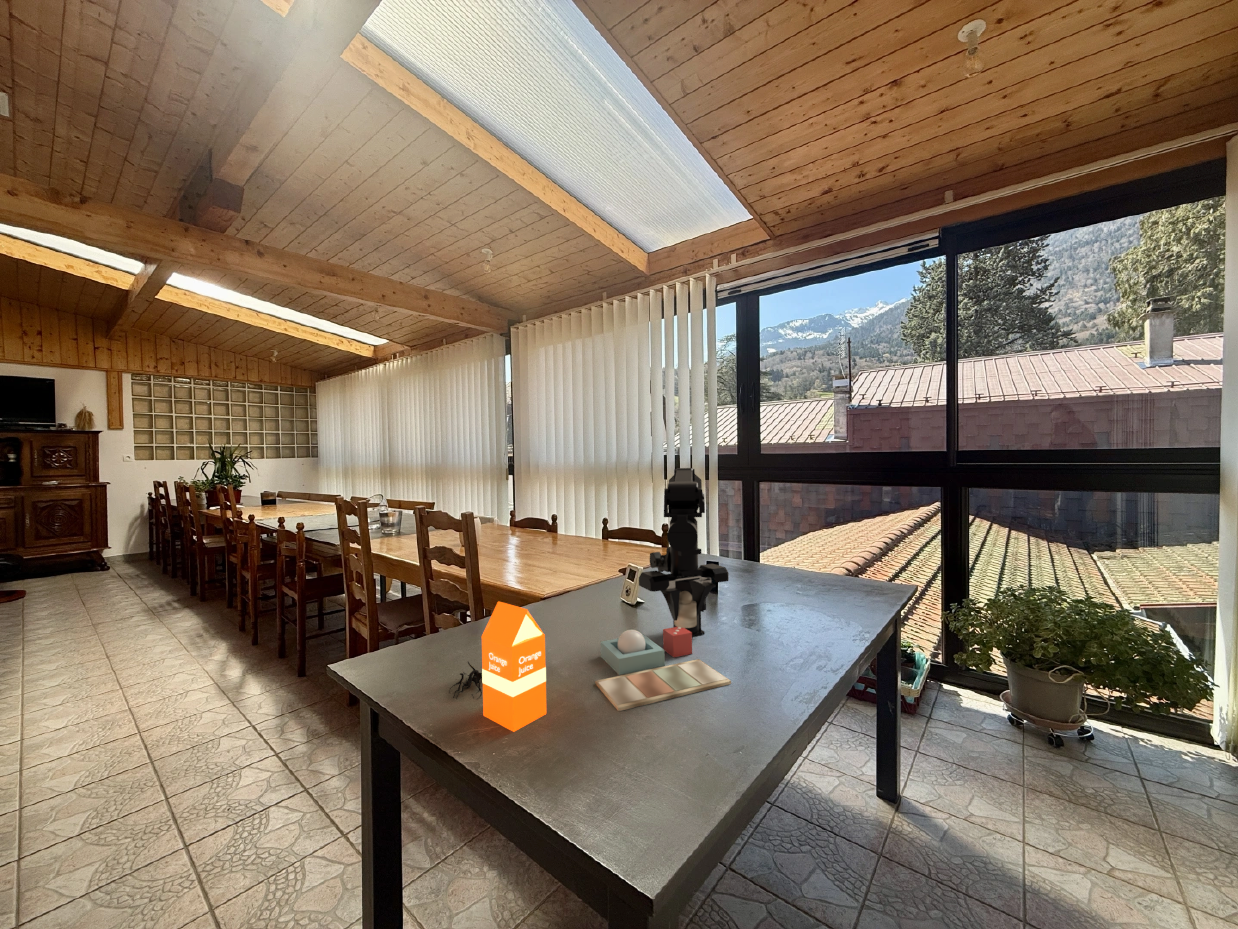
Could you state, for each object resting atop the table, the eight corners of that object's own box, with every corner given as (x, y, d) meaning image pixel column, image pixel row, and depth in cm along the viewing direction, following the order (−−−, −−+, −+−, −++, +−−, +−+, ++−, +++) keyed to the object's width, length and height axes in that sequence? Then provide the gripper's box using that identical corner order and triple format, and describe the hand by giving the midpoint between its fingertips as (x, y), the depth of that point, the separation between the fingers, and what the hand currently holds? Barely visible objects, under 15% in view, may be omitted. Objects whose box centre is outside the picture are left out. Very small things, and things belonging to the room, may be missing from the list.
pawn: (688, 619, 104) (688, 587, 104) (701, 625, 100) (700, 592, 100) (670, 622, 102) (669, 590, 102) (681, 629, 98) (681, 595, 98)
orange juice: (516, 699, 94) (514, 596, 94) (547, 713, 89) (545, 604, 88) (482, 716, 88) (479, 606, 88) (513, 732, 82) (510, 615, 82)
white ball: (638, 650, 115) (637, 624, 115) (650, 661, 109) (650, 632, 109) (613, 655, 112) (612, 628, 112) (624, 666, 107) (624, 637, 106)
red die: (681, 646, 119) (680, 625, 119) (692, 653, 114) (691, 632, 114) (663, 649, 117) (662, 628, 117) (673, 657, 112) (673, 635, 112)
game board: (699, 661, 110) (698, 658, 110) (731, 683, 99) (731, 680, 99) (595, 683, 100) (595, 680, 100) (618, 711, 89) (618, 707, 89)
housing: (642, 648, 118) (642, 634, 118) (664, 665, 108) (664, 650, 108) (600, 656, 114) (600, 641, 114) (619, 675, 104) (618, 659, 103)
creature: (472, 710, 92) (498, 684, 99) (467, 686, 91) (493, 660, 98) (441, 702, 96) (468, 677, 103) (435, 678, 95) (464, 654, 102)
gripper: (699, 534, 112) (700, 602, 112) (626, 541, 104) (628, 614, 104) (729, 541, 102) (730, 615, 102) (651, 549, 94) (652, 629, 94)
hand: (685, 618), depth 101 cm, fingers closed on pawn, 5 cm apart
